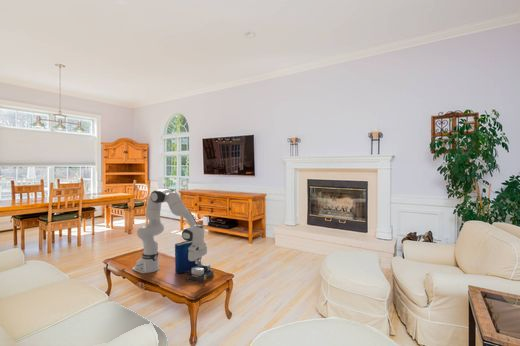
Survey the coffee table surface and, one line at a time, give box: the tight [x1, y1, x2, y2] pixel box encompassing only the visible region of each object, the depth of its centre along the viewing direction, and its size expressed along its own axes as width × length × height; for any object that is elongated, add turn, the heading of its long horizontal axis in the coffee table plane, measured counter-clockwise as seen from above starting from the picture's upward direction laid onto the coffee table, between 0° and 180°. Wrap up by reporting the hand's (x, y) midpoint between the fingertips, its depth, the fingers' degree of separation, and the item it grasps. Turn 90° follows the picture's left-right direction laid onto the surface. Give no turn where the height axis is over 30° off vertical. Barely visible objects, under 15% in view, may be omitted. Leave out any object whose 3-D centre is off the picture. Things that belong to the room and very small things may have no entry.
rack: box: [187, 262, 215, 284], centre depth 210 cm, size 13×16×9 cm
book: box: [174, 240, 202, 275], centre depth 223 cm, size 22×7×25 cm, turn 126°
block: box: [190, 267, 204, 277], centre depth 206 cm, size 9×4×9 cm, turn 68°
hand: (198, 263), depth 206 cm, fingers closed
